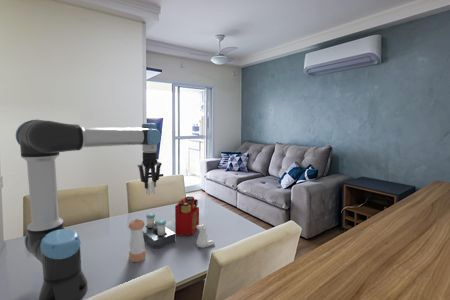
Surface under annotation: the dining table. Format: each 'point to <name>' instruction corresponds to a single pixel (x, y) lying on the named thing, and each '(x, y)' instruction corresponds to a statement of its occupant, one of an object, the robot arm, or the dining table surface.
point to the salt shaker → (136, 241)
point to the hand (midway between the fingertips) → (150, 193)
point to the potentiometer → (155, 226)
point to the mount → (157, 241)
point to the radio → (186, 216)
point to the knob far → (150, 220)
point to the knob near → (161, 227)
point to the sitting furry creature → (203, 237)
